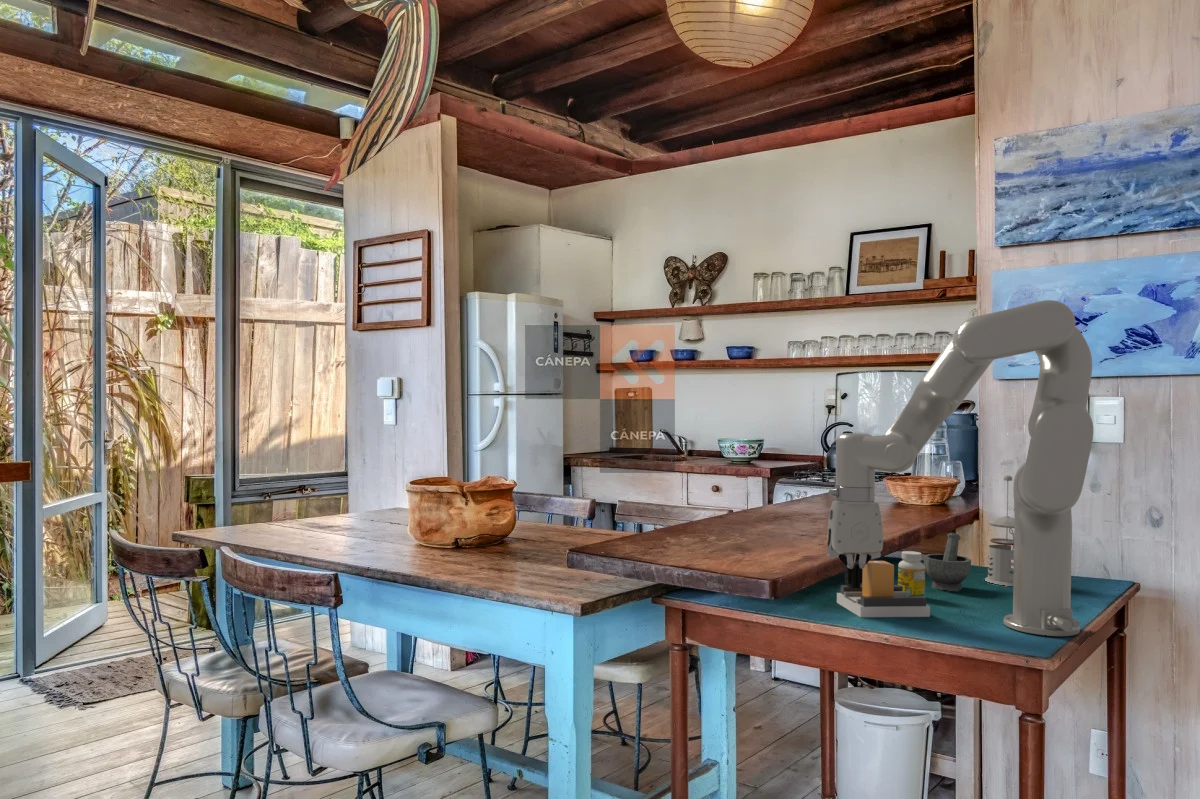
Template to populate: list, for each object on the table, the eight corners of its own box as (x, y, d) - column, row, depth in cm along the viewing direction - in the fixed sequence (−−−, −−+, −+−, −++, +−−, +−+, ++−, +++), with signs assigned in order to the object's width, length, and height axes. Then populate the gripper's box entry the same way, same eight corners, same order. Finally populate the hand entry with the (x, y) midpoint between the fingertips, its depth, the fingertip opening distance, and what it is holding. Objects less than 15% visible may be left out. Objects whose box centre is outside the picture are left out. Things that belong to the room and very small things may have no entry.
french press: (976, 581, 200) (978, 474, 200) (995, 575, 208) (997, 472, 208) (1020, 588, 193) (1022, 478, 193) (1038, 582, 201) (1040, 475, 201)
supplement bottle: (930, 599, 181) (930, 554, 181) (908, 601, 179) (909, 555, 179) (913, 594, 186) (914, 549, 186) (892, 595, 184) (893, 550, 184)
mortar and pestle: (962, 595, 186) (963, 540, 186) (918, 589, 191) (919, 535, 191) (976, 586, 195) (977, 534, 195) (933, 581, 200) (934, 529, 200)
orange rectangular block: (893, 600, 169) (894, 564, 169) (871, 600, 169) (872, 564, 169) (883, 595, 174) (884, 560, 174) (862, 595, 173) (862, 560, 173)
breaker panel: (929, 616, 166) (930, 598, 166) (860, 617, 165) (860, 598, 165) (901, 602, 178) (902, 584, 178) (836, 602, 177) (837, 585, 177)
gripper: (825, 497, 166) (824, 591, 166) (899, 497, 168) (897, 591, 168) (811, 493, 174) (810, 583, 174) (882, 493, 175) (881, 583, 175)
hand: (853, 587), depth 171 cm, fingers closed
